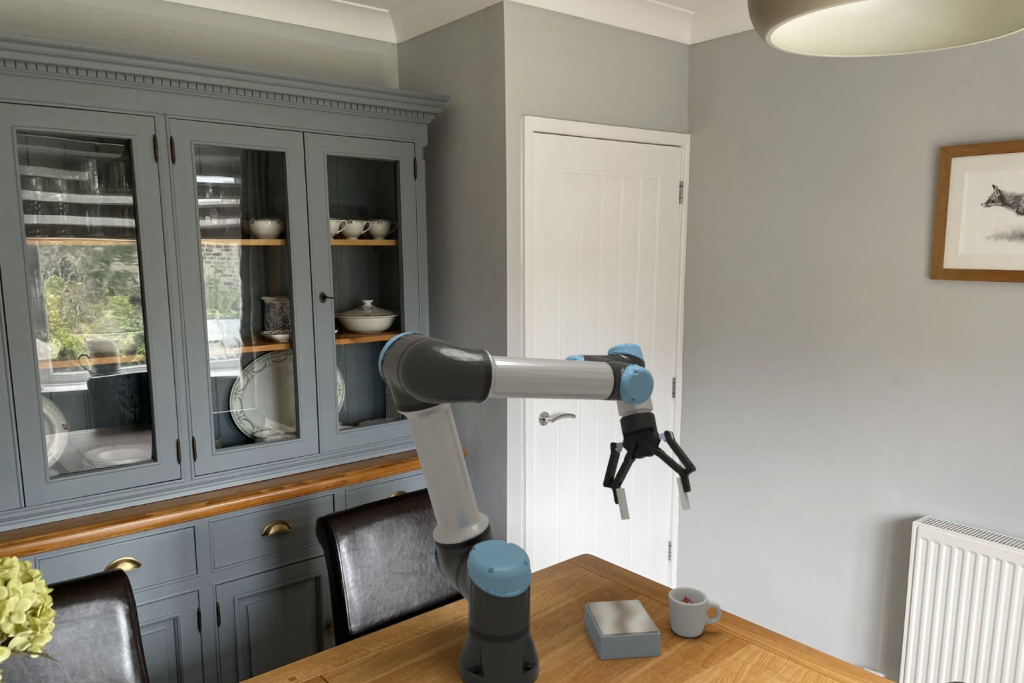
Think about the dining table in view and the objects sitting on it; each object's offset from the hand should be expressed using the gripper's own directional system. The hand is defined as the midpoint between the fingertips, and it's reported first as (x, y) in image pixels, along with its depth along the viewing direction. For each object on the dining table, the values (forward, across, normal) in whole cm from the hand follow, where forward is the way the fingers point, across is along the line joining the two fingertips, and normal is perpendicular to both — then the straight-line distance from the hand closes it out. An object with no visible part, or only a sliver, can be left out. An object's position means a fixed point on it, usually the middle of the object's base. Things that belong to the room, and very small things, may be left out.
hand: (655, 514), depth 155 cm
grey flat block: (+23, +12, +2) cm, 26 cm away
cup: (+25, 0, -9) cm, 26 cm away
